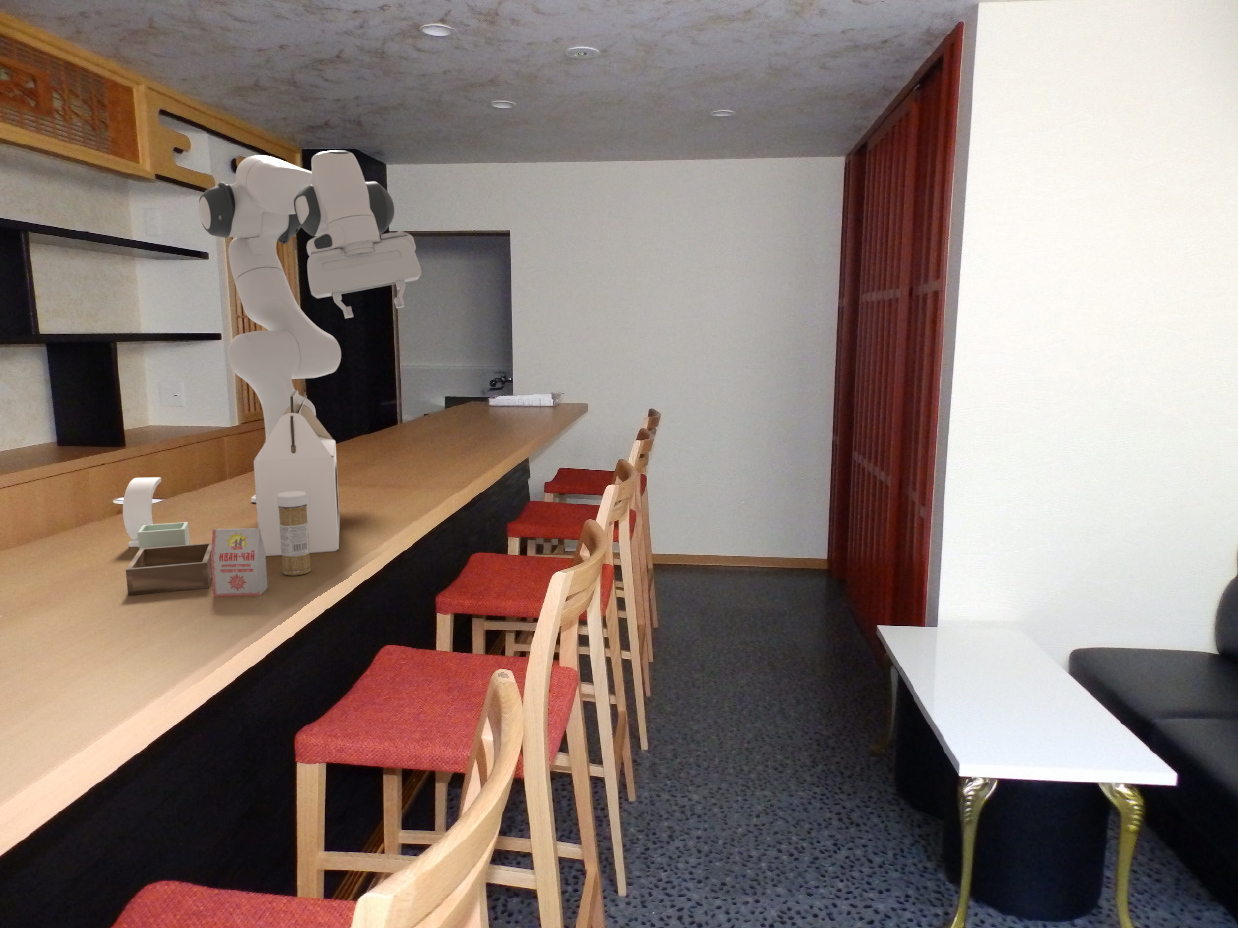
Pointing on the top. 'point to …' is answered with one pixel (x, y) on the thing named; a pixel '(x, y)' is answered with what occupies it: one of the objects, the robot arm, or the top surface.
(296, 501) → the sprinkles bottle
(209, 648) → the top surface
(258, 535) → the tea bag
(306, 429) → the gable box
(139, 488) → the headphone stand
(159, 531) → the box
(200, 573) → the large crate
